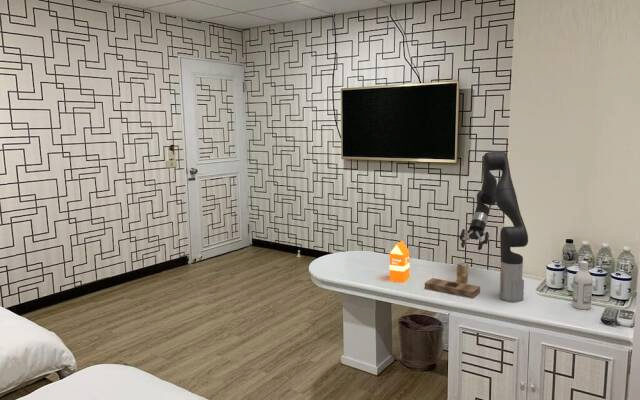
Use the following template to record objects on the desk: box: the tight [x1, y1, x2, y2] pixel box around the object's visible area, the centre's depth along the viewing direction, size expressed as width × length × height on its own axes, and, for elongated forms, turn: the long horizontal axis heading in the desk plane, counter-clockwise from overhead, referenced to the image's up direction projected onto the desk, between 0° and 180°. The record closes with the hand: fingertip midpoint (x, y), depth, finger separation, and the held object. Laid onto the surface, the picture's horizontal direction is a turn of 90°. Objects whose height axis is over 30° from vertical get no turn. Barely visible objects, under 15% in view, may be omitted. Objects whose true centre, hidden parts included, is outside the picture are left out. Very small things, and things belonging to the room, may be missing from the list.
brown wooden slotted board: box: [424, 277, 481, 299], centre depth 226 cm, size 24×9×3 cm, turn 52°
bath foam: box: [571, 260, 593, 311], centre depth 200 cm, size 7×7×20 cm
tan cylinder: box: [456, 262, 469, 284], centre depth 236 cm, size 4×4×10 cm
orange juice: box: [389, 240, 411, 284], centre depth 244 cm, size 8×9×20 cm
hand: (470, 248), depth 243 cm, fingers open, 8 cm apart
